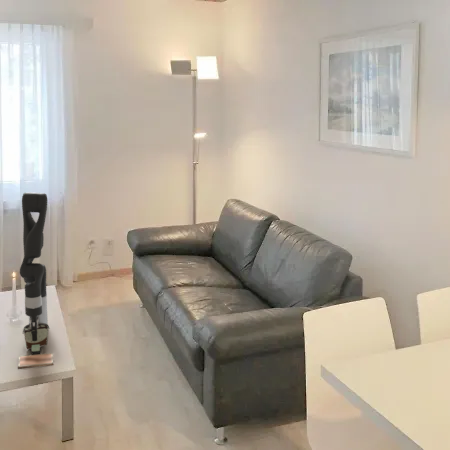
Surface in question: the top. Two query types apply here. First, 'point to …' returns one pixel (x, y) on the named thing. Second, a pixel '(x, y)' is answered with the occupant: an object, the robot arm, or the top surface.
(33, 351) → the button base
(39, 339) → the food container
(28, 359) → the picture board
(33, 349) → the button
